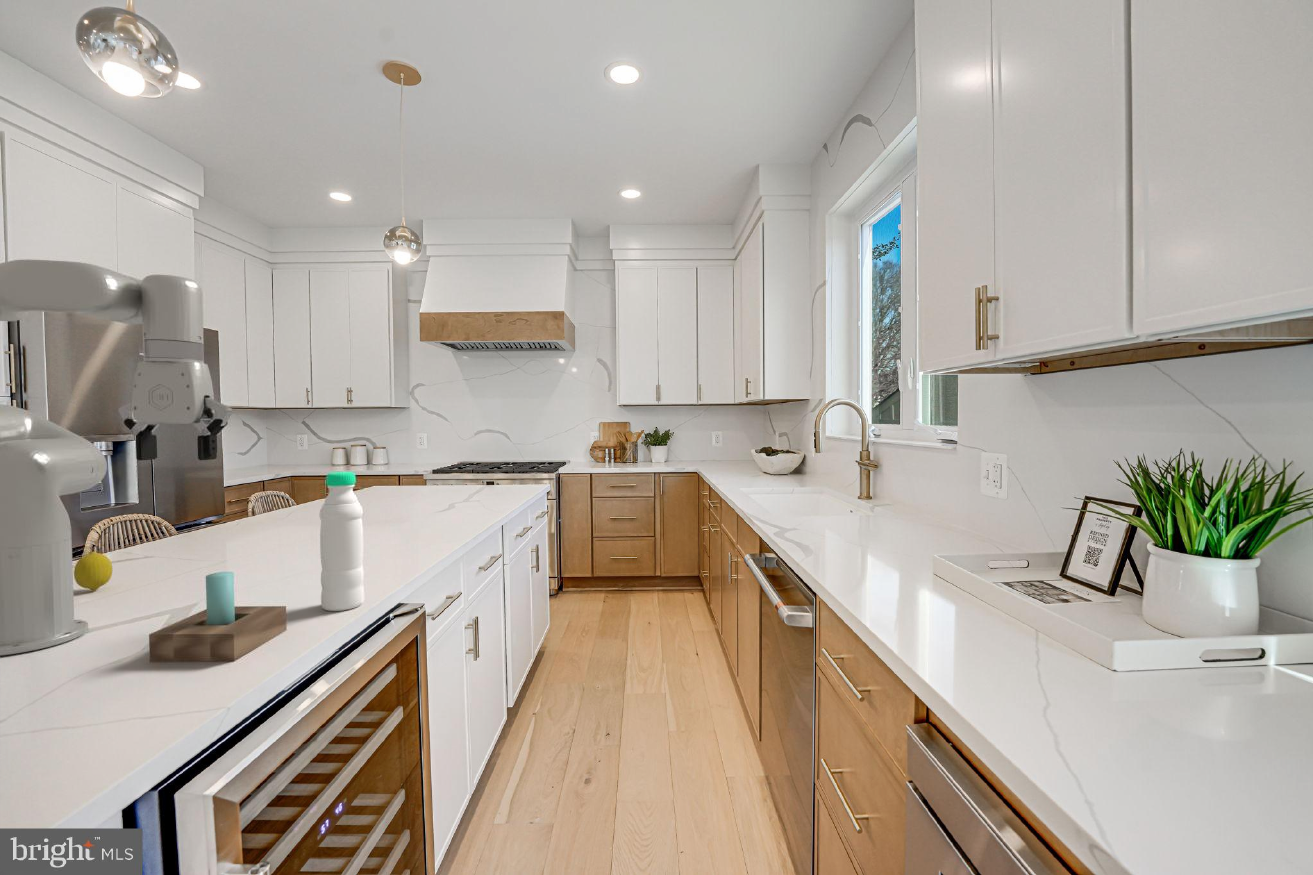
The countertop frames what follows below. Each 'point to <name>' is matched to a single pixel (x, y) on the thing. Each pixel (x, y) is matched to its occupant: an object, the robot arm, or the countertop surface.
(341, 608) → the water bottle
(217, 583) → the dowel
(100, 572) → the lemon
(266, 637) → the socket block
